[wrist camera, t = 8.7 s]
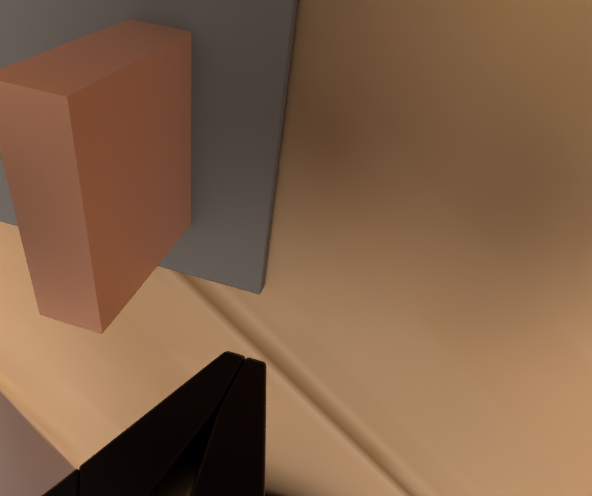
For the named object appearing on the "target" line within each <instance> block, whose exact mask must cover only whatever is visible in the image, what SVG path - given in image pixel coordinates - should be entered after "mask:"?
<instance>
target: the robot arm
mask: <svg viewBox="0 0 592 496" xmlns="http://www.w3.org/2000/svg"><path fill="white" fill-rule="evenodd" d="M265 446H266V363H265V362H263V361H259V360H256V359H253V358H246V359H245V357H244V356H243V355H240V354H236V353H233V352H230V351H227V352H224V353H222V354H221V355H220V356H219V357H217V358H216V359H215V360H213V361H212V362H211V363H210V364H208V365H207V366H206V367H205V368H203V369H202V370H201V371H200V372H198V373H197V374H196V375H195V376H193V377H192V378H191V379H189V380H188V381H187V382H186V383H184V384H183V385H182V386H181V387H179V388H178V389H177V390H176V391H174V392H173V393H172V394H171V395H169V396H168V397H167V398H165V399H164V400H163V401H162V402H160V403H159V404H158V405H157V406H155V407H154V408H153V409H152V410H150V411H149V412H148V413H146V414H145V415H144V416H143V417H141V418H140V419H139V420H138V421H136V422H135V423H134V424H133V425H131V426H130V427H129V428H128V429H126V430H125V431H124V432H122V433H121V434H120V435H119V436H117V437H116V438H115V439H114V440H112V441H111V442H110V443H109V444H107V445H106V446H105V447H103V448H102V449H101V450H100V451H98V452H97V453H96V454H95V455H93V456H92V457H91V458H90V459H88V460H87V461H86V462H85V463H83V464H82V465H81V466H80V468H79V470H78V469H76V470H74V471H73V472H72V473H70V474H69V475H68V476H67V477H65V478H64V479H63V480H62V481H61V482H59V483H58V484H57V485H55V486H54V487H53V488H51V489H50V490H49V491H47V492H46V493H45V494H43V495H42V496H265Z"/></svg>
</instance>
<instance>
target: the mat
mask: <svg viewBox="0 0 592 496" xmlns="http://www.w3.org/2000/svg"><path fill="white" fill-rule="evenodd" d="M297 3H298V0H0V69H2V68H4V67H7V66H9V65H12V64H14V63H17V62H20V61H22V60H25V59H27V58H30V57H33V56H35V55H38V54H40V53H43V52H45V51H48V50H51V49H53V48H56V47H58V46H61V45H63V44H66V43H69V42H71V41H74V40H76V39H79V38H82V37H84V36H87V35H89V34H92V33H94V32H97V31H100V30H102V29H105V28H107V27H110V26H112V25H115V24H118V23H120V22H123V21H125V20H128V19H134V20H138V21H143V22H148V23H152V24H157V25H162V26H167V27H171V28H176V29H181V30H185V31H190V32H191V225H190V227H189V228H188V229H187V230H186V231H185V233H184V234H183V235H182V236H181V238H180V239H179V240H178V241H177V242H176V244H175V245H174V246H173V247H172V249H171V250H170V251H169V252H168V254H167V255H166V256H165V257H164V258H163V260H162V261H161V262H160V263H159V265H158V266H160V267H164V268H168V269H171V270H175V271H178V272H182V273H185V274H189V275H192V276H196V277H199V278H203V279H206V280H210V281H213V282H217V283H221V284H224V285H228V286H231V287H235V288H238V289H242V290H245V291H249V292H252V293H256V294H259V295H260V293H261V291H262V289H263V287H264V280H265V272H266V263H267V255H268V246H269V238H270V230H271V221H272V213H273V204H274V196H275V188H276V179H277V171H278V162H279V154H280V145H281V137H282V129H283V120H284V112H285V103H286V95H287V87H288V78H289V70H290V61H291V53H292V45H293V36H294V28H295V19H296V11H297ZM0 221H2V222H5V223H9V224H12V225H16V226H18V223H17V219H16V215H15V211H14V207H13V203H12V199H11V195H10V191H9V187H8V183H7V179H6V174H5V170H4V166H3V162H2V158H1V154H0Z"/></svg>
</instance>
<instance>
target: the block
mask: <svg viewBox="0 0 592 496" xmlns="http://www.w3.org/2000/svg"><path fill="white" fill-rule="evenodd" d="M0 154H1V158H2V162H3V166H4V170H5V174H6V179H7V183H8V187H9V191H10V195H11V199H12V203H13V207H14V211H15V215H16V219H17V223H18V227H19V231H20V235H21V240H22V244H23V248H24V252H25V256H26V260H27V264H28V268H29V272H30V276H31V280H32V284H33V288H34V292H35V296H36V300H37V305H38V309H39V313H40V315H42V316H46V317H49V318H52V319H55V320H59V321H62V322H65V323H68V324H72V325H75V326H78V327H81V328H85V329H88V330H91V331H94V332H98V333H101V334H102V333H103V332H104V331H105V330H106V329H107V327H108V326H109V325H110V324H111V322H112V321H113V320H114V319H115V317H116V316H117V315H118V314H119V313H120V311H121V310H122V309H123V308H124V306H125V305H126V304H127V303H128V302H129V300H130V299H131V298H132V297H133V295H134V294H135V293H136V292H137V290H138V289H139V288H140V287H141V286H142V284H143V283H144V282H145V281H146V279H147V278H148V277H149V276H150V274H151V273H152V272H153V271H154V270H155V268H156V267H157V266H158V265H159V263H160V262H161V261H162V260H163V258H164V257H165V256H166V255H167V254H168V252H169V251H170V250H171V249H172V247H173V246H174V245H175V244H176V242H177V241H178V240H179V239H180V238H181V236H182V235H183V234H184V233H185V231H186V230H187V229H188V228H189V227H190V225H191V32H190V31H185V30H181V29H176V28H171V27H167V26H162V25H157V24H152V23H148V22H143V21H138V20H134V19H128V20H125V21H123V22H120V23H118V24H115V25H112V26H110V27H107V28H105V29H102V30H100V31H97V32H94V33H92V34H89V35H87V36H84V37H82V38H79V39H76V40H74V41H71V42H69V43H66V44H63V45H61V46H58V47H56V48H53V49H51V50H48V51H45V52H43V53H40V54H38V55H35V56H33V57H30V58H27V59H25V60H22V61H20V62H17V63H14V64H12V65H9V66H7V67H4V68H2V69H0Z"/></svg>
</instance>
